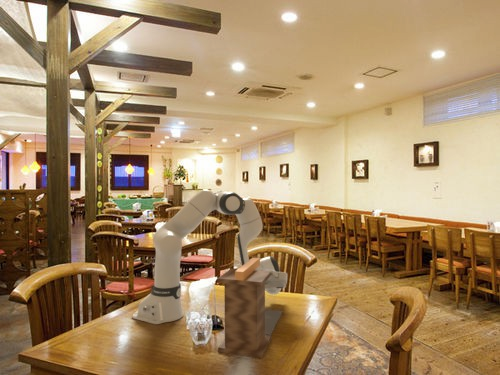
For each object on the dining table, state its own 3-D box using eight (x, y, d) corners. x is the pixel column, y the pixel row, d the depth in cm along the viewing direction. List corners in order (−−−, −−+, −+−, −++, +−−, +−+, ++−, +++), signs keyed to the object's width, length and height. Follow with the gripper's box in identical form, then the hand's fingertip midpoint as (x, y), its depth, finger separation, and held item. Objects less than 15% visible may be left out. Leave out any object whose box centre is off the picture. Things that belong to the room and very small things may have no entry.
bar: (235, 279, 114) (234, 271, 114) (252, 264, 135) (252, 257, 135) (243, 280, 113) (243, 271, 113) (259, 265, 134) (259, 257, 134)
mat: (235, 332, 131) (235, 329, 131) (252, 310, 154) (252, 307, 154) (269, 336, 127) (269, 334, 127) (282, 313, 150) (282, 311, 150)
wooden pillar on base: (217, 351, 116) (217, 278, 116) (231, 334, 130) (231, 268, 130) (261, 358, 112) (261, 282, 111) (271, 339, 125) (270, 271, 125)
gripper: (248, 271, 159) (240, 262, 147) (290, 274, 153) (285, 266, 142) (246, 284, 156) (237, 277, 144) (288, 288, 150) (283, 280, 139)
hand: (261, 271), depth 143 cm, fingers open, 8 cm apart
